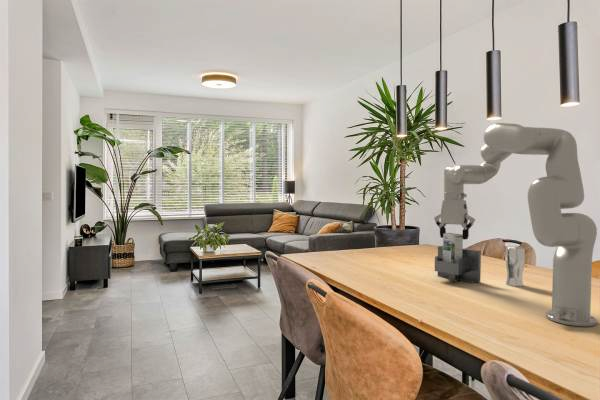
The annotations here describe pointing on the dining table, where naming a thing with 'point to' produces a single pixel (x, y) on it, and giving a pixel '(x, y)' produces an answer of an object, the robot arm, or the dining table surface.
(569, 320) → the robot arm
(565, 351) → the dining table surface
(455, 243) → the syrup box
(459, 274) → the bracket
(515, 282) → the beer glass
